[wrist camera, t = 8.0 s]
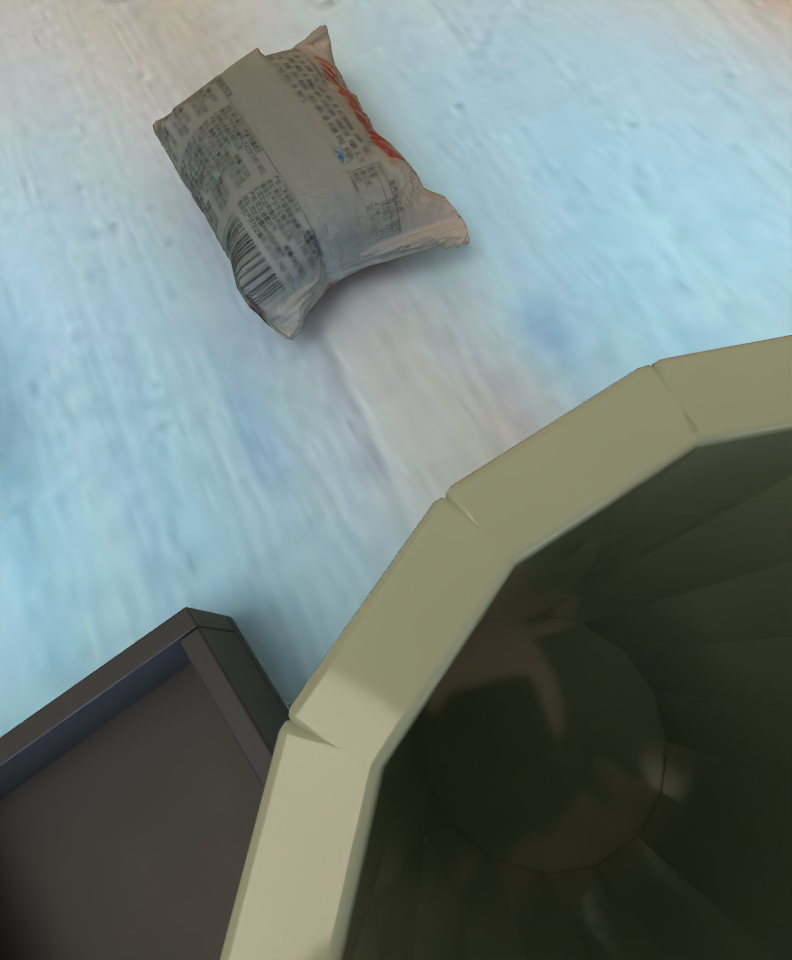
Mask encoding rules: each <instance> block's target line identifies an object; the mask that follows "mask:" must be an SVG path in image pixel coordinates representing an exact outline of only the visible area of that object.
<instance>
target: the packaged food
mask: <svg viewBox="0 0 792 960" xmlns="http://www.w3.org/2000/svg"><path fill="white" fill-rule="evenodd" d="M153 128H154V132H155V134H156V136H157V137H158V139H159V140H160V142H161V144H162V146H163V147H164V149H165V151H166V152H167V154H168V156H169V157H170V159H171V161H172V163H173V164H174V166H175V168H176V170H177V172H178V174H179V176H180V178H181V179H182V181H183V182H184V184H185V185H186V187H187V188H188V189H189V191H190V192H191V193H192V196H193V198H194V200H195V201H196V203H197V205H198V206H199V208H200V209H201V211H202V212H203V213H204V214H205V216H206V218H207V220H208V222H209V224H210V226H211V227H212V229H213V231H214V233H215V235H216V238H217V240H218V241H219V242H220V244H221V246H222V248H223V250H224V251H225V253H226V255H227V257H228V258H229V259H230V260H231V264H232V268H233V273H234V277H235V281H236V286H237V289H238V290H239V292H240V293H241V295H242V296H243V298H244V299H245V301H246V303H247V304H248V306H249V307H250V308H251V309H252V310H253V311H255V312H256V313H257V314H258V315H259V316H260V317H261V318H262V319H263V321H264V322H265V323H267V324H268V325H269V326H270V327H272V328H273V329H274V330H276V331H277V332H278V333H279V334H280V335H282V336H283V337H285V338H286V339H291V340H293V339H294V337H296V336H297V335H298V334H300V333H301V330H302V327H303V324H304V320H305V317H306V315H307V313H308V311H309V309H310V310H311V309H312V308H313V305H314V304H315V303H316V302H317V301H318V300H319V299H320V298H321V296H322V295H323V294H324V293H325V292H326V291H328V290H329V289H330V288H331V287H332V286H333V285H334V284H335V283H336V282H338V281H339V280H341V279H343V278H344V277H346V276H349V275H352V274H355V273H357V272H359V271H360V270H362V269H364V268H367V267H370V266H373V265H376V264H378V263H382V262H386V261H390V260H393V259H396V258H399V257H403V256H406V255H410V254H413V253H417V252H420V251H425V250H428V249H430V248H433V247H439V248H444V249H448V248H450V247H451V246H452V245H453V246H455V247H459V246H460V245H467V244H468V242H469V236H468V232H467V228H466V225H465V223H464V221H463V219H462V218H461V217H460V216H459V215H458V212H457V211H456V210H455V208H454V207H453V206H452V205H451V204H450V203H449V201H448V200H447V199H446V198H445V197H444V196H442V195H439V194H437V193H434V192H431V191H429V190H427V189H425V188H424V187H423V185H422V184H421V182H420V180H419V178H418V176H417V174H416V173H415V171H414V170H413V169H412V167H411V166H410V165H409V164H408V163H407V162H406V161H405V159H404V158H403V157H402V156H401V155H400V153H399V152H398V151H397V150H396V149H395V148H394V147H393V146H392V145H391V144H390V143H389V142H388V141H386V140H385V139H384V138H382V137H381V136H379V135H378V134H377V133H376V132H375V131H374V129H373V127H372V125H371V122H370V120H369V119H368V118H367V115H366V114H365V113H364V112H363V110H362V108H361V106H360V103H359V101H358V99H357V96H356V95H354V94H352V93H350V91H349V90H348V88H347V86H346V84H345V82H344V80H343V78H342V76H341V74H340V72H339V71H338V69H337V67H336V66H335V63H334V59H333V54H332V49H331V42H330V38H329V35H328V29H327V27H326V25H324V26H319V27H318V28H317V29H316V30H314V31H313V32H312V33H311V34H310V35H309V36H308V37H307V38H306V39H305V40H303V41H302V42H300V43H298V44H297V45H295V46H294V47H293V48H292V49H290V50H286V51H282V52H278V53H274V54H270V55H267V56H264V55H263V54H262V53H261V52H260V51H259V49H258V48H256V49H255V50H253V51H252V52H250V53H249V54H248V55H246V56H245V57H243V58H242V59H240V60H239V61H237V62H236V63H235V64H233V65H232V66H230V67H229V68H228V69H226V70H225V71H224V72H223V73H222V74H220V75H218V76H217V77H215V78H214V79H213V80H211V81H210V82H209V83H207V84H206V85H205V86H203V87H202V88H201V89H199V90H198V91H197V92H195V93H194V94H193V95H191V96H190V97H189V98H188V99H186V100H185V101H183V102H182V103H180V104H179V105H177V106H176V107H175V108H174V109H173V111H172V113H170V114H169V115H167V116H166V117H164V118H162V119H160V120H157V121H155V123H154V125H153Z"/></svg>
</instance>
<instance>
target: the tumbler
mask: <svg viewBox="0 0 792 960" xmlns="http://www.w3.org/2000/svg"><path fill="white" fill-rule="evenodd" d="M288 716H289V718H290V720H287V721H285V722H284V724H283V725H282V726H281V728H280V729H279V731H278V735H277V739H276V742H275V746H274V750H273V754H272V758H271V762H270V765H269V769H268V773H267V777H266V781H265V784H264V788H263V792H262V796H261V800H260V804H259V807H258V811H257V815H256V819H255V823H254V826H253V830H252V834H251V838H250V842H249V846H248V849H247V853H246V857H245V861H244V865H243V869H242V872H241V876H240V880H239V884H238V888H237V891H236V895H235V899H234V903H233V907H232V911H231V914H230V918H229V922H228V926H227V930H226V933H225V937H224V941H223V945H222V949H221V953H220V956H219V960H792V335H789V336H784V337H778V338H773V339H768V340H762V341H757V342H751V343H746V344H741V345H735V346H730V347H724V348H719V349H714V350H708V351H703V352H698V353H692V354H687V355H681V356H676V357H671V358H665V359H661V360H659V361H657V362H655V363H654V364H652V365H651V366H650V365H647V366H644V367H640V368H637V369H636V370H634V371H633V372H631V373H629V374H628V375H626V376H625V377H623V378H621V379H620V380H618V381H617V382H615V383H614V384H612V385H610V386H609V387H607V388H606V389H604V390H602V391H601V392H599V393H598V394H596V395H594V396H593V397H591V398H590V399H588V400H587V401H585V402H583V403H582V404H580V405H579V406H577V407H575V408H574V409H572V410H571V411H569V412H568V413H566V414H564V415H563V416H561V417H560V418H558V419H556V420H555V421H553V422H552V423H550V424H549V425H547V426H545V427H544V428H542V429H541V430H539V431H537V432H536V433H534V434H533V435H531V436H529V437H528V438H526V439H525V440H523V441H522V442H520V443H518V444H517V445H515V446H514V447H512V448H510V449H509V450H507V451H506V452H504V453H503V454H501V455H499V456H498V457H496V458H495V459H493V460H491V461H490V462H488V463H487V464H485V465H484V466H482V467H480V468H479V469H477V470H476V471H474V472H472V473H471V474H469V475H468V476H466V477H464V478H463V479H461V480H460V481H458V482H457V483H455V484H453V485H452V486H451V487H450V488H449V490H448V491H447V492H446V497H445V498H440V499H439V500H437V501H435V502H434V503H433V504H432V505H431V507H430V508H429V510H428V511H427V513H426V514H425V515H424V517H423V518H422V520H421V521H420V522H419V524H418V525H417V527H416V528H415V530H414V531H413V532H412V534H411V535H410V537H409V538H408V539H407V541H406V542H405V544H404V545H403V546H402V548H401V549H400V551H399V552H398V554H397V555H396V556H395V558H394V559H393V561H392V562H391V563H390V565H389V566H388V568H387V569H386V571H385V572H384V573H383V575H382V576H381V578H380V579H379V580H378V582H377V583H376V585H375V586H374V588H373V589H372V590H371V592H370V593H369V595H368V596H367V597H366V599H365V600H364V602H363V603H362V604H361V606H360V607H359V609H358V610H357V612H356V613H355V614H354V616H353V617H352V619H351V620H350V621H349V623H348V624H347V626H346V627H345V629H344V630H343V631H342V633H341V634H340V636H339V637H338V638H337V640H336V641H335V643H334V644H333V645H332V647H331V648H330V650H329V651H328V653H327V654H326V655H325V657H324V658H323V660H322V661H321V662H320V664H319V665H318V667H317V668H316V670H315V671H314V672H313V674H312V675H311V677H310V678H309V679H308V681H307V682H306V684H305V685H304V686H303V688H302V689H301V691H300V692H299V694H298V695H297V696H296V698H295V699H294V701H293V702H292V703H291V706H290V710H289V713H288Z"/></svg>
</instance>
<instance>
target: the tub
mask: <svg viewBox="0 0 792 960" xmlns="http://www.w3.org/2000/svg"><path fill="white" fill-rule="evenodd" d="M288 713H289V711H288V709H287V708H286V706H285V704H284V703H283V701H282V699H281V698H280V696H279V695H278V693H277V691H276V690H275V688H274V686H273V685H272V683H271V681H270V680H269V678H268V677H267V675H266V673H265V672H264V670H263V668H262V667H261V665H260V663H259V662H258V660H257V659H256V657H255V655H254V654H253V652H252V650H251V649H250V647H249V646H248V644H247V642H246V641H245V639H244V637H243V636H242V634H241V632H240V631H239V629H238V628H237V626H236V624H235V623H234V621H233V619H232V618H231V617H229V616H225V615H220V614H216V613H211V612H206V611H202V610H197V609H193V608H188V607H185V608H184V609H182V610H181V611H180V612H178V613H177V614H175V615H174V616H172V617H171V618H170V619H168V620H167V621H165V622H164V623H162V624H161V625H160V626H158V627H157V628H155V629H154V630H153V631H151V632H150V633H148V634H147V635H145V636H144V637H143V638H141V639H140V640H138V641H137V642H135V643H134V644H133V645H131V646H130V647H128V648H127V649H126V650H124V651H123V652H121V653H120V654H118V655H117V656H116V657H114V658H113V659H111V660H110V661H108V662H107V663H106V664H104V665H103V666H101V667H100V668H99V669H97V670H96V671H94V672H93V673H91V674H90V675H89V676H87V677H86V678H84V679H83V680H81V681H80V682H79V683H77V684H76V685H74V686H73V687H72V688H70V689H69V690H67V691H66V692H64V693H63V694H62V695H60V696H59V697H57V698H56V699H54V700H53V701H52V702H50V703H49V704H47V705H46V706H45V707H43V708H42V709H40V710H39V711H37V712H36V713H35V714H33V715H32V716H30V717H29V718H27V719H26V720H25V721H23V722H22V723H20V724H19V725H17V726H16V727H15V728H13V729H12V730H10V731H9V732H8V733H6V734H5V735H3V736H2V737H0V960H219V956H220V953H221V949H222V945H223V941H224V937H225V933H226V930H227V926H228V922H229V918H230V914H231V911H232V907H233V903H234V899H235V895H236V891H237V888H238V884H239V880H240V876H241V872H242V869H243V865H244V861H245V857H246V853H247V849H248V846H249V842H250V838H251V834H252V830H253V826H254V823H255V819H256V815H257V811H258V807H259V804H260V800H261V796H262V792H263V788H264V784H265V781H266V777H267V773H268V769H269V765H270V762H271V758H272V754H273V750H274V746H275V742H276V739H277V735H278V731H279V729H280V728H281V726H282V725H283V724H284V722H285V721H287V720H290V718H289V716H288Z"/></svg>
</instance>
